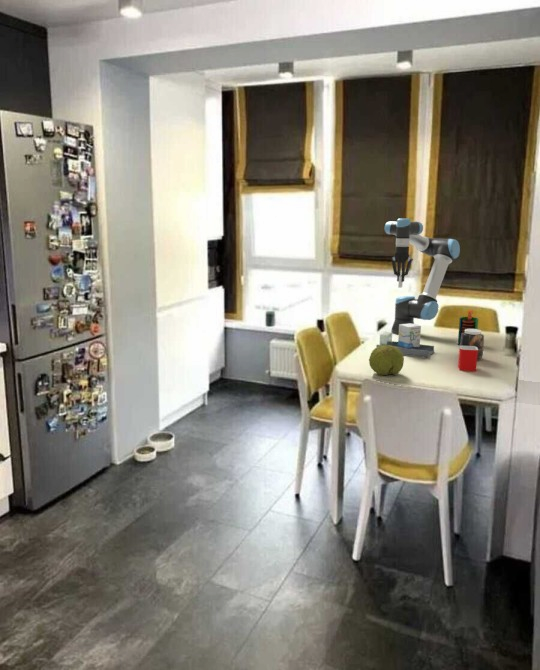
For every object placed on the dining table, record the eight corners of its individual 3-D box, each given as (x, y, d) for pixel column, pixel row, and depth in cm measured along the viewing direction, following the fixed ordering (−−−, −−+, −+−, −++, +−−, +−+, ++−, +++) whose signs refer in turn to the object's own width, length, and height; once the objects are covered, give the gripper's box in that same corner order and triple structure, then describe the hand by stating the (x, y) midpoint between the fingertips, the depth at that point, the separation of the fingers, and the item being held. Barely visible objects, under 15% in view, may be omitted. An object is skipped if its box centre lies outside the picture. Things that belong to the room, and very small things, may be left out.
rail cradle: (384, 346, 327) (385, 330, 325) (433, 352, 314) (434, 335, 312) (376, 351, 315) (376, 335, 313) (427, 357, 302) (428, 340, 300)
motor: (457, 345, 329) (459, 311, 325) (458, 342, 338) (460, 308, 333) (476, 347, 326) (478, 312, 322) (476, 344, 334) (479, 310, 330)
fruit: (389, 381, 261) (374, 351, 261) (372, 384, 274) (358, 355, 274) (414, 365, 267) (400, 336, 267) (397, 369, 280) (383, 341, 280)
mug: (477, 371, 276) (478, 350, 274) (459, 370, 278) (460, 349, 275) (473, 365, 288) (475, 344, 285) (456, 364, 289) (457, 343, 287)
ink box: (407, 348, 307) (409, 326, 305) (397, 345, 314) (398, 324, 312) (420, 346, 311) (421, 325, 309) (409, 343, 318) (410, 322, 316)
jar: (455, 358, 301) (457, 330, 298) (464, 354, 310) (466, 327, 306) (477, 362, 293) (479, 333, 290) (486, 358, 302) (488, 330, 299)
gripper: (389, 246, 327) (387, 287, 332) (411, 246, 320) (409, 288, 325) (393, 245, 333) (391, 285, 338) (415, 246, 327) (413, 287, 332)
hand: (400, 287), depth 332 cm, fingers closed
